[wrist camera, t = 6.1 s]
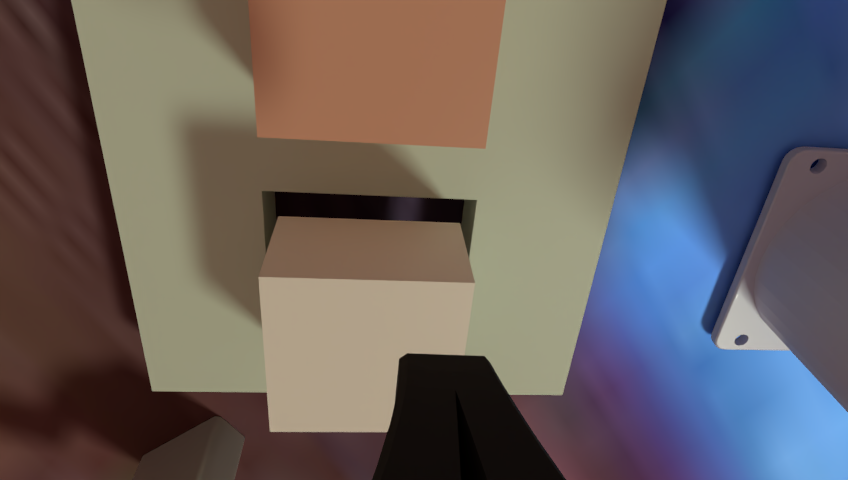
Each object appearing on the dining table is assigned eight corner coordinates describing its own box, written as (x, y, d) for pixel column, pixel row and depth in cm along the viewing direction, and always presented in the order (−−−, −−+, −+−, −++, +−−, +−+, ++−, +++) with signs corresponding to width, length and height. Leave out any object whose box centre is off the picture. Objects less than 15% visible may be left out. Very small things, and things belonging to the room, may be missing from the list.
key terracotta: (493, -108, 13) (521, -112, 11) (467, 108, 16) (485, 148, 13) (267, -129, 13) (238, -138, 10) (278, 97, 15) (257, 137, 12)
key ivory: (459, 222, 16) (474, 282, 14) (443, 359, 19) (453, 431, 16) (278, 216, 16) (258, 276, 13) (285, 357, 18) (270, 431, 16)
